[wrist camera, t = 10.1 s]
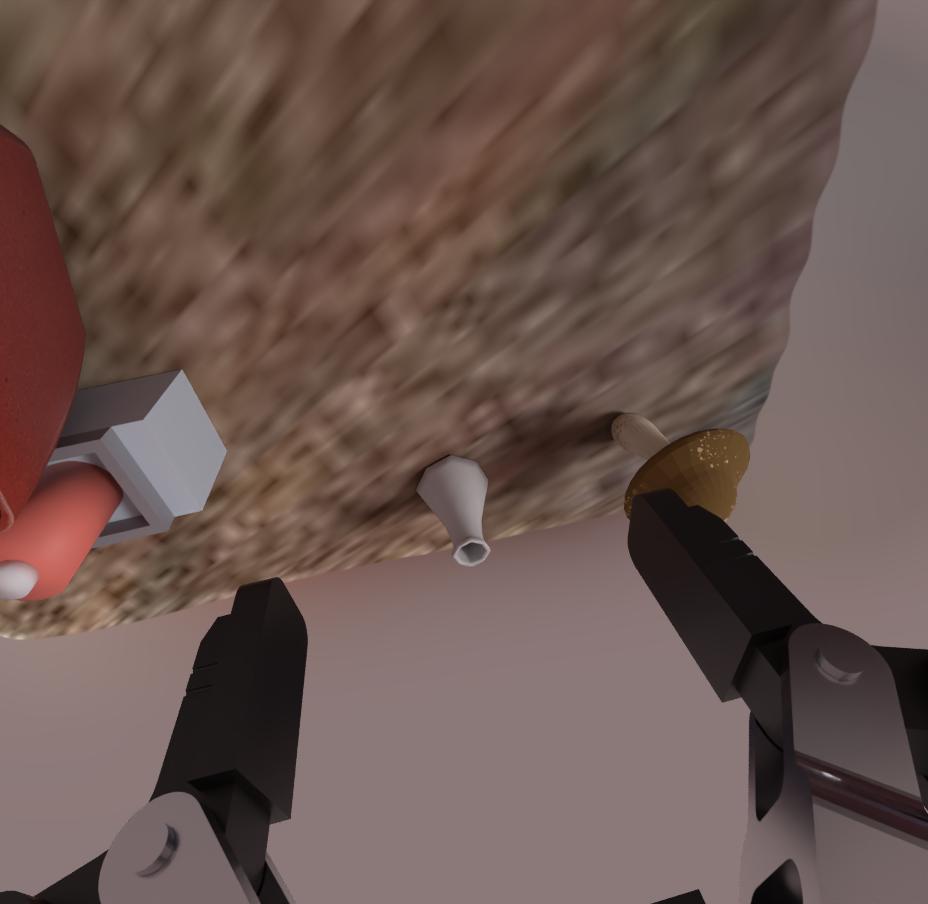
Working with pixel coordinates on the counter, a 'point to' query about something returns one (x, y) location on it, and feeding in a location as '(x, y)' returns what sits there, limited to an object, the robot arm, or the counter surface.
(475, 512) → the flask
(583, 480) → the counter surface
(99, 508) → the pink cylinder white tip
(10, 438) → the plant pot
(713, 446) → the mushroom
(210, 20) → the counter surface
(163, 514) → the grey box device
